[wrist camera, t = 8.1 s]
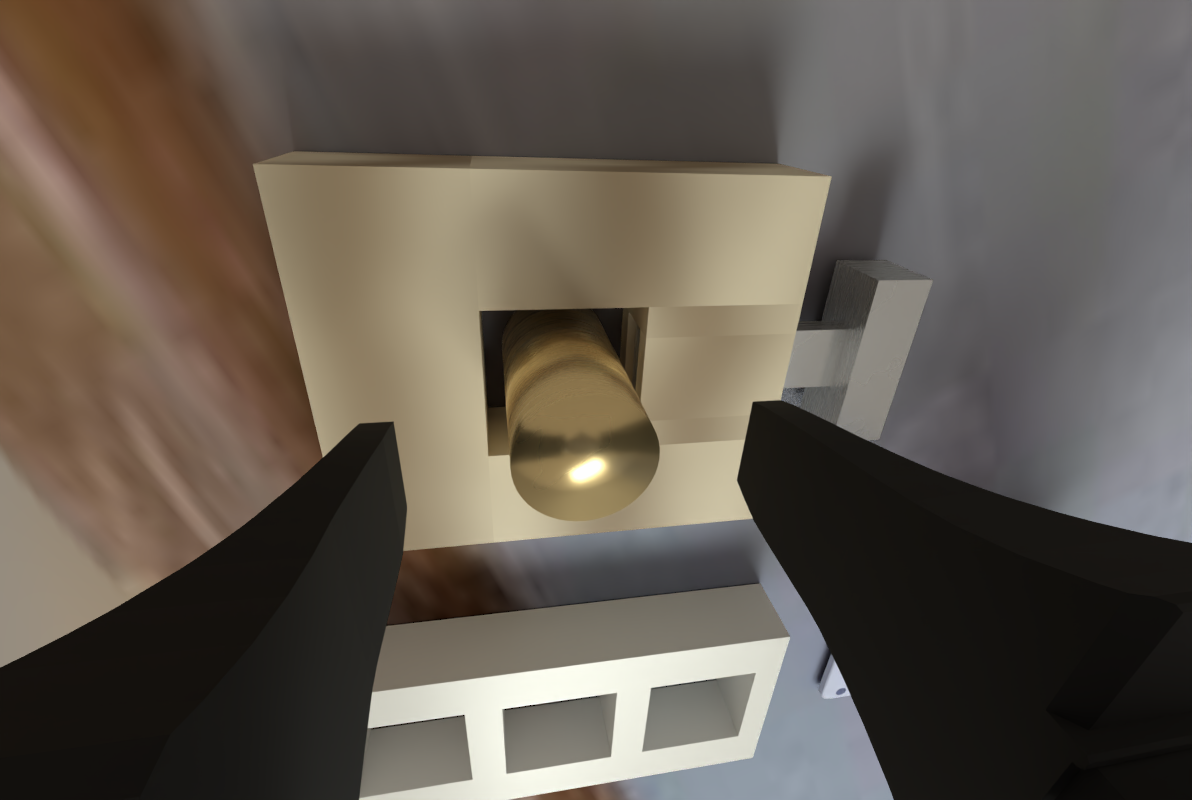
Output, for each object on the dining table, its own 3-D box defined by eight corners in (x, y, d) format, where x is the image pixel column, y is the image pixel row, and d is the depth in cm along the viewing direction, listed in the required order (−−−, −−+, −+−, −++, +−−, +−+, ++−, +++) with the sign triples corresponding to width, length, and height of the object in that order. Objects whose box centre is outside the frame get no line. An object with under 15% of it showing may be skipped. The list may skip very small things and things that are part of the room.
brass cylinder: (606, 293, 16) (667, 392, 10) (601, 387, 17) (652, 514, 12) (499, 295, 15) (506, 400, 10) (504, 392, 17) (512, 527, 11)
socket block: (778, 163, 15) (831, 176, 12) (722, 469, 20) (753, 518, 17) (293, 151, 13) (252, 164, 10) (363, 496, 17) (346, 555, 15)
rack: (760, 583, 23) (790, 636, 21) (730, 702, 27) (752, 757, 24) (314, 634, 20) (293, 702, 18) (353, 759, 24) (339, 828, 22)
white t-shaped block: (885, 259, 16) (933, 280, 15) (842, 407, 19) (879, 439, 17) (635, 261, 15) (654, 283, 13) (623, 420, 17) (638, 456, 16)
